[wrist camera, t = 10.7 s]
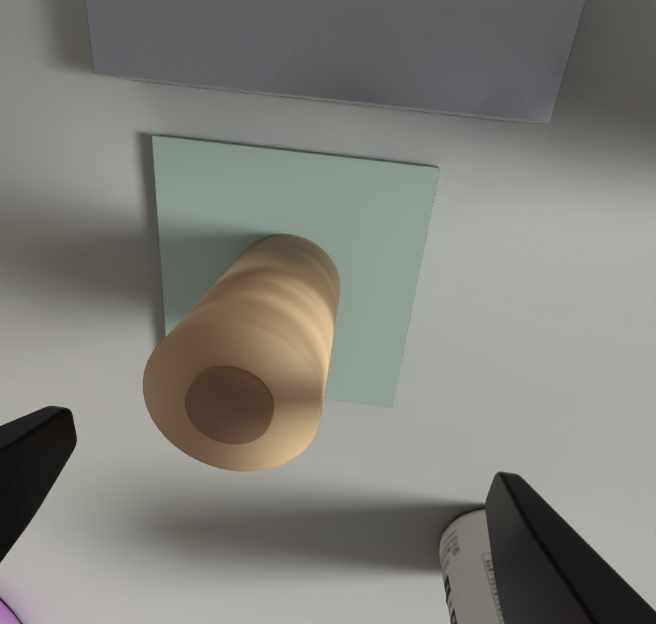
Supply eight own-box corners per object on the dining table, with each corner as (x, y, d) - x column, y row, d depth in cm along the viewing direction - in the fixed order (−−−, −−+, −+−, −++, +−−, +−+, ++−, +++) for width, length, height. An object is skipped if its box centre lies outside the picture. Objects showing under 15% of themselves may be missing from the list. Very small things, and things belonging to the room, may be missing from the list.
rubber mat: (436, 166, 18) (440, 168, 17) (391, 396, 23) (391, 407, 22) (162, 135, 18) (151, 135, 18) (176, 367, 23) (168, 377, 23)
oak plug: (346, 240, 19) (329, 340, 10) (334, 339, 21) (312, 489, 12) (235, 227, 19) (128, 315, 10) (234, 327, 21) (145, 466, 12)
